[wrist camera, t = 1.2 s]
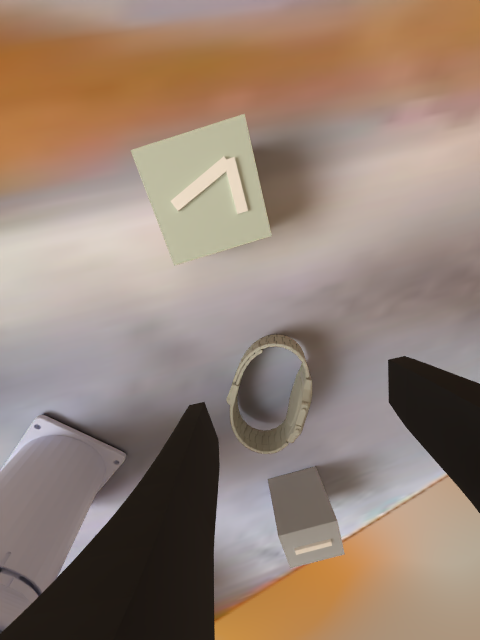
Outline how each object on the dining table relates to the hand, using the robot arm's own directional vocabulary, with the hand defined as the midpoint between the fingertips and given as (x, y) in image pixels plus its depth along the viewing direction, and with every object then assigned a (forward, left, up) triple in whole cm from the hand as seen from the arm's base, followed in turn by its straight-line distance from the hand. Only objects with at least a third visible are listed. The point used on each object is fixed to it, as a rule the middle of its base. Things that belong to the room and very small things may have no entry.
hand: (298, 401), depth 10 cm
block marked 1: (-12, -15, -10) cm, 22 cm away
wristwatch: (-4, -4, -10) cm, 12 cm away
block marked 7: (+4, +8, -10) cm, 13 cm away
